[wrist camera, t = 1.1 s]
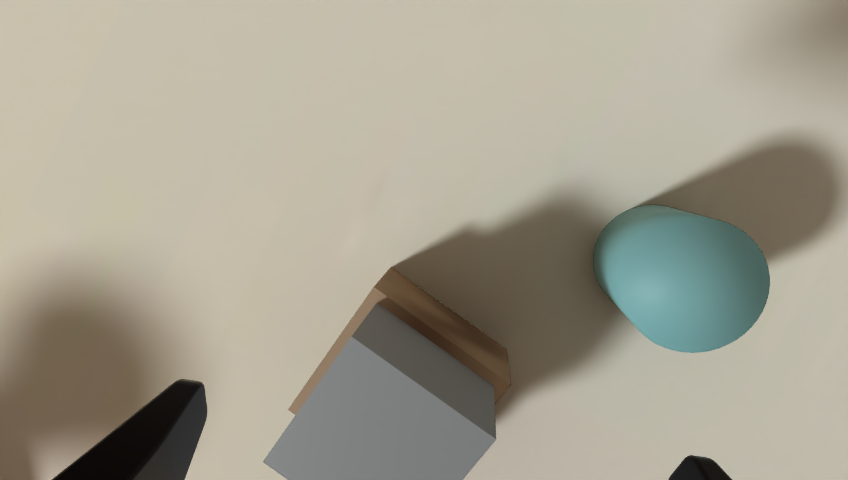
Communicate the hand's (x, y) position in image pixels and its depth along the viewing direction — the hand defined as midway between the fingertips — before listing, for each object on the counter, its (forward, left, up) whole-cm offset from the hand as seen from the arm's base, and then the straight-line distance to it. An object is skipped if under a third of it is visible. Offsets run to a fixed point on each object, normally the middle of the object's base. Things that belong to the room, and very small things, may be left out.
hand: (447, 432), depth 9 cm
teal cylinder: (-6, -5, -15) cm, 17 cm away
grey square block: (0, +6, -11) cm, 13 cm away
